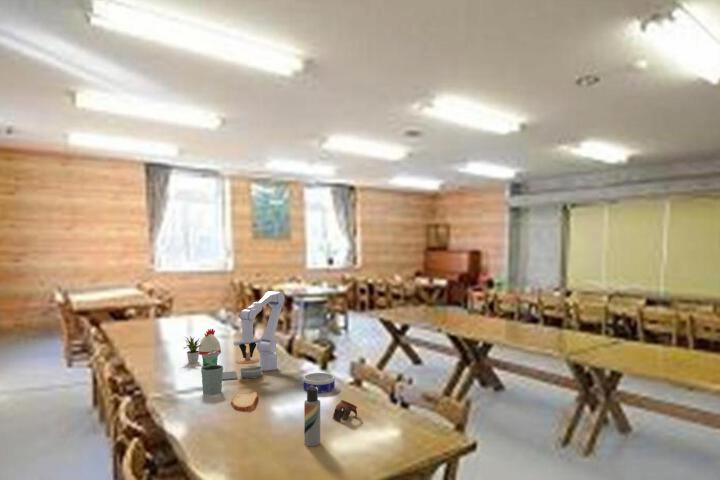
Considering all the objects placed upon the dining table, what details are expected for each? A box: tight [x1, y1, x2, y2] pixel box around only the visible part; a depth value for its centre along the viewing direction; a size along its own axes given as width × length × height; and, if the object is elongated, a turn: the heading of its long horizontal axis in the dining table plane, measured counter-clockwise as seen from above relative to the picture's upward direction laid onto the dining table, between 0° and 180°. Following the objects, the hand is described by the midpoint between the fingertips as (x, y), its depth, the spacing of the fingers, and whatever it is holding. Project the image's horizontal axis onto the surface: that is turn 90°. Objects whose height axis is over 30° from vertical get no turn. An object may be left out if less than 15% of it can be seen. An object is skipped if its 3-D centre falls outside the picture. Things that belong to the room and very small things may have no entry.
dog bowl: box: [302, 372, 336, 394], centre depth 241 cm, size 15×15×6 cm
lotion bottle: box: [303, 387, 321, 447], centre depth 176 cm, size 6×6×20 cm
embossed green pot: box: [200, 364, 224, 396], centre depth 235 cm, size 10×10×12 cm
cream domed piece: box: [197, 328, 222, 355], centre depth 320 cm, size 14×14×15 cm
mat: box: [222, 370, 238, 381], centre depth 262 cm, size 16×14×1 cm
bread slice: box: [230, 391, 259, 413], centre depth 220 cm, size 18×18×4 cm
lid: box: [235, 351, 260, 365], centre depth 263 cm, size 12×12×5 cm
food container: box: [201, 350, 220, 367], centre depth 276 cm, size 12×6×10 cm, turn 168°
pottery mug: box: [332, 399, 358, 423], centre depth 200 cm, size 12×10×8 cm
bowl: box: [240, 365, 263, 379], centre depth 263 cm, size 11×11×4 cm
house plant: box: [183, 335, 203, 364], centre depth 293 cm, size 14×14×16 cm
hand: (247, 357), depth 263 cm, fingers closed on lid, 3 cm apart
